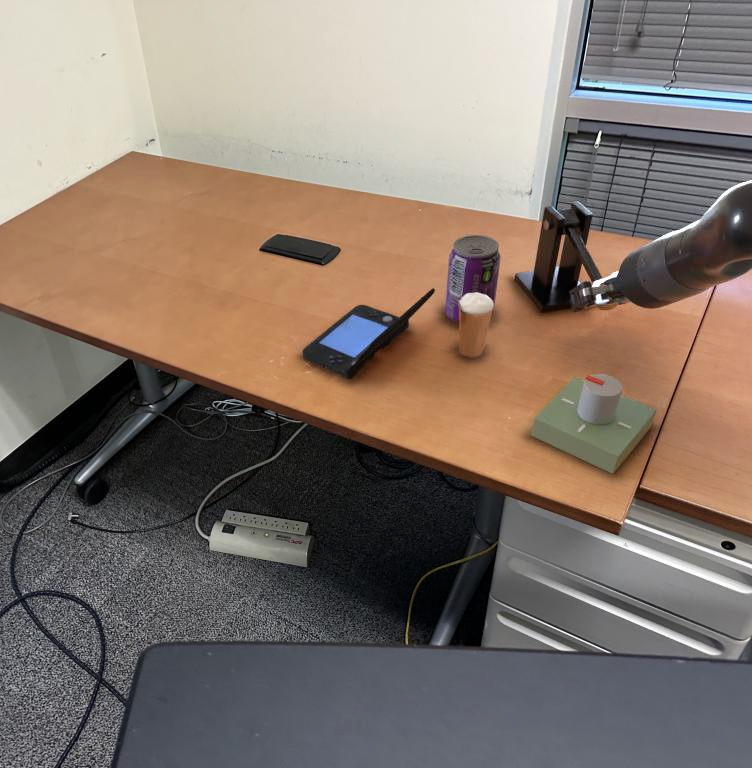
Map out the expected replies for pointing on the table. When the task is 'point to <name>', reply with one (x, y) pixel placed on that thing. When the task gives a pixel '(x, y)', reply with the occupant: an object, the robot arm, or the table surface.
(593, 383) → the lock knob
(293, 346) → the table surface
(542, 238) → the latch bracket
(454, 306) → the beverage can
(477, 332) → the milkshake
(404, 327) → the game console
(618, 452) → the green dial knob panel
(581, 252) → the latch lever
